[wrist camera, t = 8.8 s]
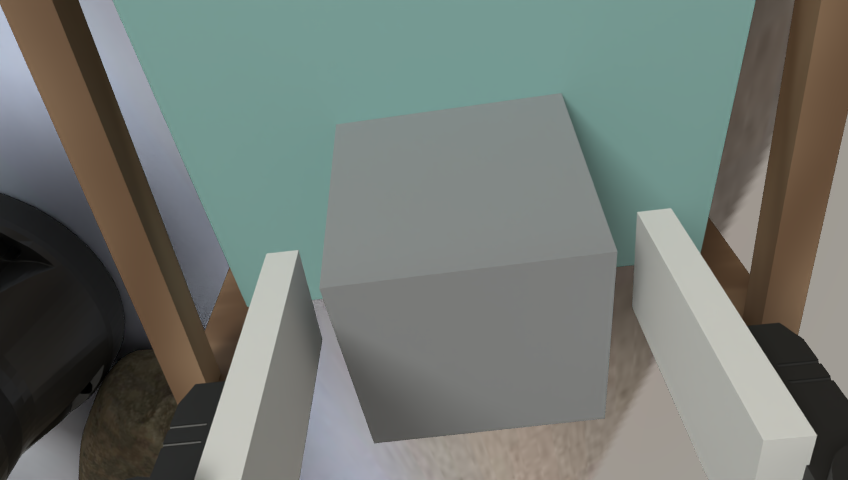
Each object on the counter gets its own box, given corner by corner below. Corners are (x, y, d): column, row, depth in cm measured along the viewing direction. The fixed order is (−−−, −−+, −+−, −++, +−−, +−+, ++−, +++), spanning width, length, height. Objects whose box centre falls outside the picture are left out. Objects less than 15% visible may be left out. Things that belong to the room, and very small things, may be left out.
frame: (270, 220, 36) (195, 443, 24) (140, -236, 26) (-123, -274, 13) (651, 176, 35) (786, 385, 23) (683, -318, 25) (972, -445, 12)
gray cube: (377, 278, 22) (374, 442, 18) (336, 124, 18) (319, 288, 14) (561, 255, 22) (605, 418, 18) (561, 93, 18) (617, 251, 14)
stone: (269, 366, 40) (225, 551, 36) (225, 412, 52) (187, 556, 47) (116, 327, 38) (44, 522, 33) (105, 385, 49) (51, 535, 44)
